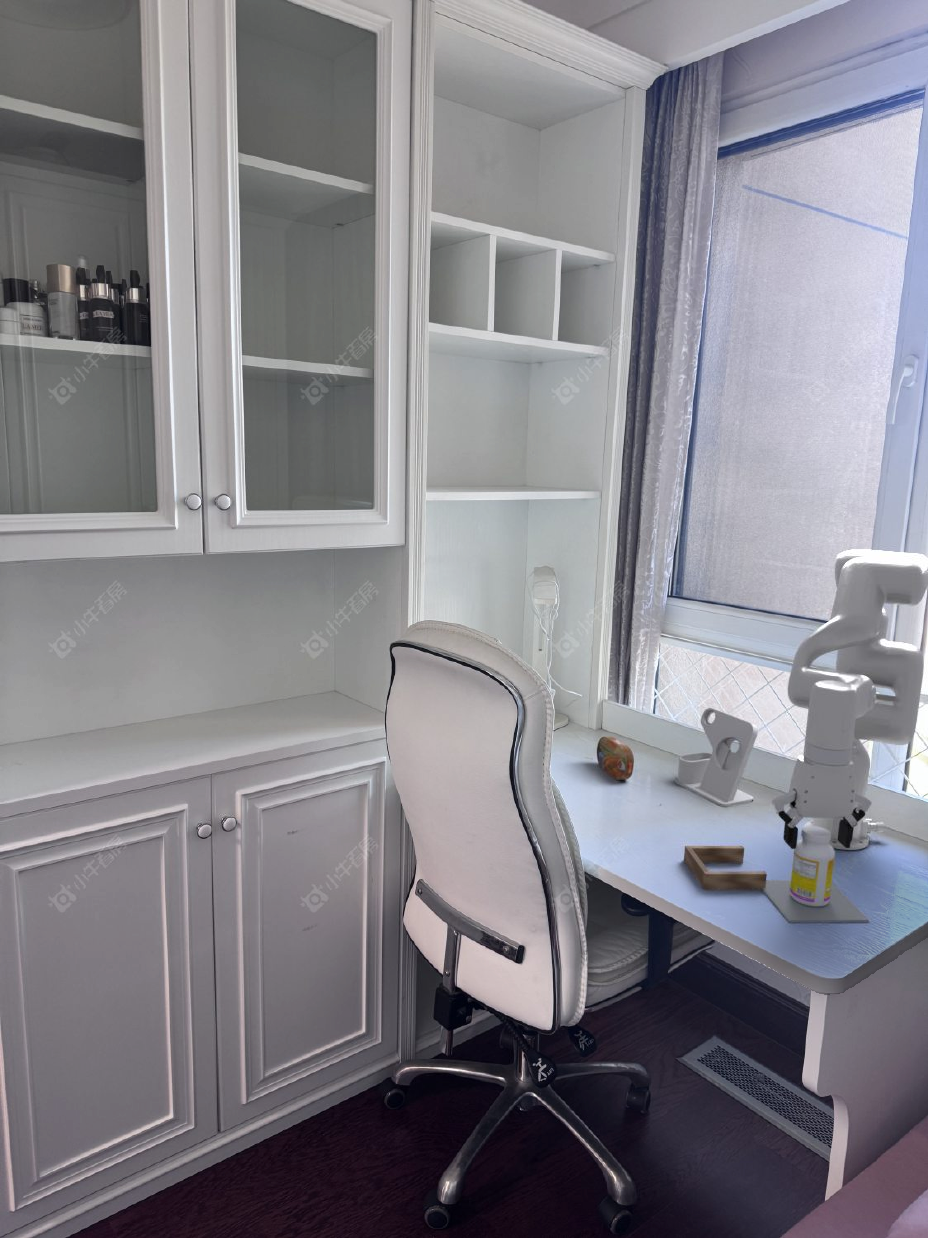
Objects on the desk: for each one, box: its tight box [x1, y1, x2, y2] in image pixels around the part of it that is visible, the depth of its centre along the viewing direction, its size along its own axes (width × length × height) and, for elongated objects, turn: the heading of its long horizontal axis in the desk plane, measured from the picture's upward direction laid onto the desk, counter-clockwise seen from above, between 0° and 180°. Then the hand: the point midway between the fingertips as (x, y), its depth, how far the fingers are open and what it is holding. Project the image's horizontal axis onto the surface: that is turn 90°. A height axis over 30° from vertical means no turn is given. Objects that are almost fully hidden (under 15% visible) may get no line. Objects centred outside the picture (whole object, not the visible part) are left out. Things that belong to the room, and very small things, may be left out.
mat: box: [761, 879, 870, 923], centre depth 152 cm, size 14×14×1 cm
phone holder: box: [674, 707, 759, 808], centre depth 201 cm, size 17×10×18 cm, turn 27°
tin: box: [596, 736, 635, 781], centre depth 211 cm, size 15×3×8 cm, turn 17°
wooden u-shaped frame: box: [683, 845, 768, 890], centre depth 161 cm, size 11×11×3 cm
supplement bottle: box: [790, 826, 836, 907], centre depth 151 cm, size 7×7×13 cm
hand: (816, 845), depth 151 cm, fingers open, 9 cm apart
